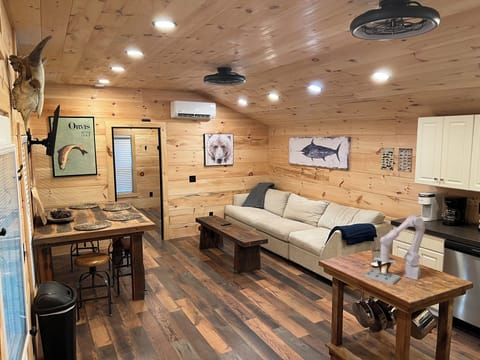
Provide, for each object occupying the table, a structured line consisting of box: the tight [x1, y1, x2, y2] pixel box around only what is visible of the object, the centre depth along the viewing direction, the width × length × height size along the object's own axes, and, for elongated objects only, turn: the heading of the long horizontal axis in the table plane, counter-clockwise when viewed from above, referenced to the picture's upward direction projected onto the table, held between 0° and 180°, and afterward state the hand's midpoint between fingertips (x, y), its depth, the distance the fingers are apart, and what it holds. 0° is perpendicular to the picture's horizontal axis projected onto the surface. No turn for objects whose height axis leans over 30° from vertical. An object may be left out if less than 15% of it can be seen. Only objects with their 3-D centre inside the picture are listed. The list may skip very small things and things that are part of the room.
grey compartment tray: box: [363, 268, 401, 286], centre depth 251 cm, size 20×14×2 cm
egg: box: [381, 266, 387, 275], centre depth 253 cm, size 4×4×5 cm
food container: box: [370, 246, 381, 263], centre depth 284 cm, size 12×6×10 cm, turn 84°
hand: (383, 271), depth 253 cm, fingers closed on egg, 4 cm apart
